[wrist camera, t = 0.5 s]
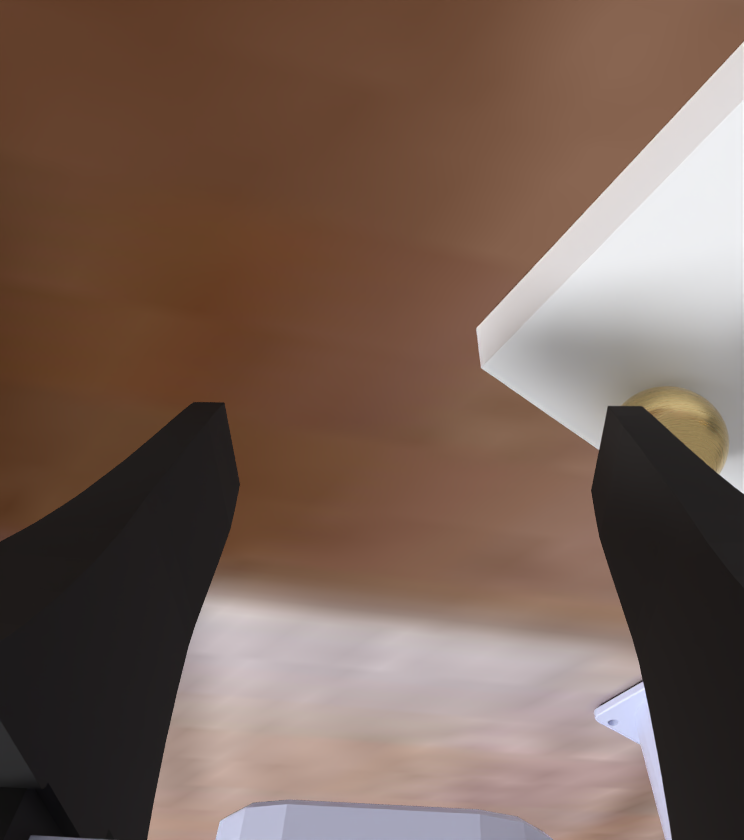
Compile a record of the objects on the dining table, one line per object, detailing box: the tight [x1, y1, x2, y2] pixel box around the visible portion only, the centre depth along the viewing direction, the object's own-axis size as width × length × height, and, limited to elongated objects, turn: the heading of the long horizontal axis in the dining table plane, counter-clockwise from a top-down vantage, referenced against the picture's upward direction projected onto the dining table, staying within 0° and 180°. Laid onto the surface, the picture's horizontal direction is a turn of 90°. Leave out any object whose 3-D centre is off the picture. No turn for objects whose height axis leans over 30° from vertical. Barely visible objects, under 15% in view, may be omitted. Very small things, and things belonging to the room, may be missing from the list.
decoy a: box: [621, 386, 729, 474], centre depth 20 cm, size 3×3×3 cm
